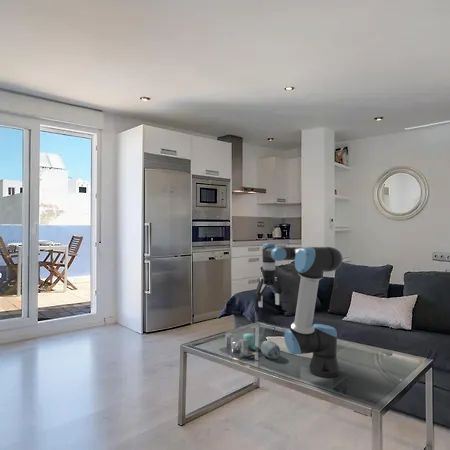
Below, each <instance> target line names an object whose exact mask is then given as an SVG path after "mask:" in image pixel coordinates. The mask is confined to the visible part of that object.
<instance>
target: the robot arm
mask: <svg viewBox="0 0 450 450" xmlns="http://www.w3.org/2000/svg"><path fill="white" fill-rule="evenodd" d="M261 249H262V278H261V277H260V278H259V279H258V282H257V286H256V289H255V292H254V295H255V296H257V301H258V302H257V303H258V307H259V308H263V305H264V304H263V301H264V300H263V293H264V292H265V290H266V288H267V287H269V286H271V287H272V288H273V290H274V292H275V295H274V301H275V302H274V304H275V305H277V306H280V299H281V294H282V293H283V288H282V286H281V283H280V279H279V277H278V276H276V262H280V261H294V268H295V270H296V272H297V274H298V276H300V280H299V285H298V286H299V287H298V295H297V302H296V309H295V316H294V321H293V322H292V323H291V324H290V328H289V329H287V330H285V332H284V336H283V337H284V343H285V346H286V348H287V351H288V352H289V353H290V354H292V355H303V354H312V357H311V359H310V362H309V366H308V370H309V372H310V373H311V374H312V375H315V376H318V377H322V378H334V377H338V376H340V375H341V367H340V365H339V361H338V358H337V357H338V356H337V353H338V351H337V350H338V349H337V348H338V343H337V340H338V331H337V329H336V328H335V327H333V326H331V325H328V324H322V323H314V324H313V322H314V316H315V309H316V302H317V295H318V289H319V284H320V283H319V281H320V280H322V279H324V273H325V272H326V273H328V272H329V273H330V272H334V271H337V270H338V269H339V268H340V267H341V266H342V263H343V254H342V252H340V250H338V249H337V248H336V247H332V246H315V247H314V246H307V247H306V246H304V247H303V246H293V247H292V246H276V244H275V243H263V244H262V248H261Z"/></svg>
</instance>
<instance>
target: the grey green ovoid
mask: <svg viewBox="0 0 450 450" xmlns="http://www.w3.org/2000/svg"><path fill="white" fill-rule="evenodd" d="M260 351H261V354H263V356H265V358H268V359H271V360H278V359H279V357H280V355H281V349H280V346H279V345H278V344H277V343H276V342H274V341H272V340H264V341H262V343H261V346H260Z"/></svg>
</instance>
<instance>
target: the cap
mask: <svg viewBox="0 0 450 450" xmlns="http://www.w3.org/2000/svg"><path fill="white" fill-rule="evenodd" d="M242 337H243V338H242V339H246V340H248V348H252V349H253V350H254V351H255V350H258V348H257V347H258V346H257V347H255V346H256V344H255V343H256V342H255V341H256V335H255V334H254V333H252V332H251V333H249V332H247V333H243V334H242ZM240 345H242V343H241V342H240Z"/></svg>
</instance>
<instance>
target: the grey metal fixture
mask: <svg viewBox="0 0 450 450" xmlns="http://www.w3.org/2000/svg"><path fill="white" fill-rule="evenodd" d="M224 334H225V338H224V343H225V344H224V347H220V348H219V349H218V350H219V351H220V352H223V353H225V354H227V355H229V356H231V357H233V358H235V359H236V360H237V359H238V360H239V359H243V358H246V357H248V358H249V357H251V356H254V353H253V352H251V351H250V350H248V340H246V339H243V338H240V339H238V340H233V341H232V338H234V334H233V333H230V332H228V333H224ZM241 343H242V344H241ZM240 346H242V348H241V347H240Z"/></svg>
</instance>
